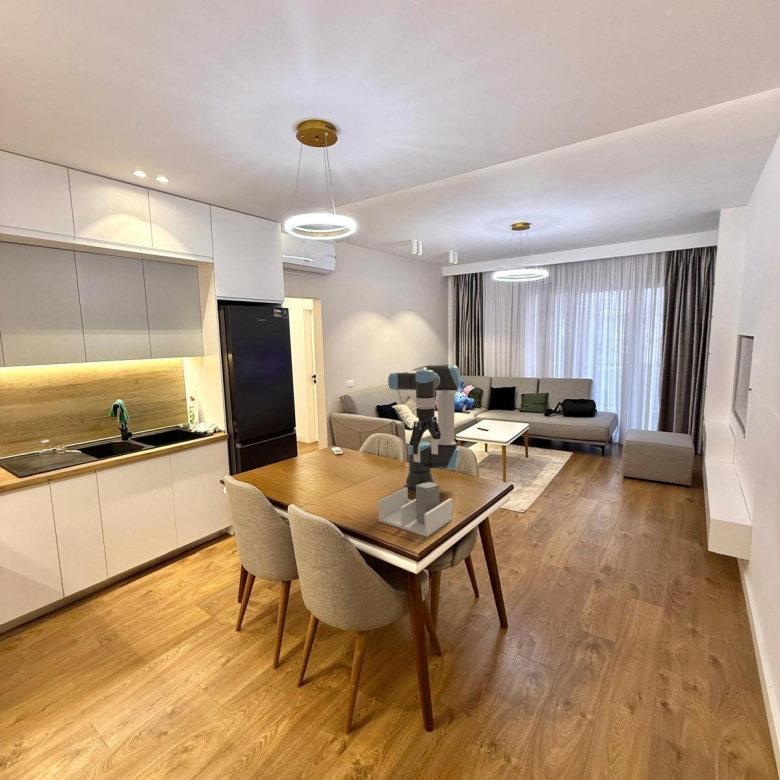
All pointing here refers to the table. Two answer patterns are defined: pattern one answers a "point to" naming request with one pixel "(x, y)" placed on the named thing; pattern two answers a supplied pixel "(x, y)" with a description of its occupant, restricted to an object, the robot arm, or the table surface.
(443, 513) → the rack
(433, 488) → the skincare box
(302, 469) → the table surface
